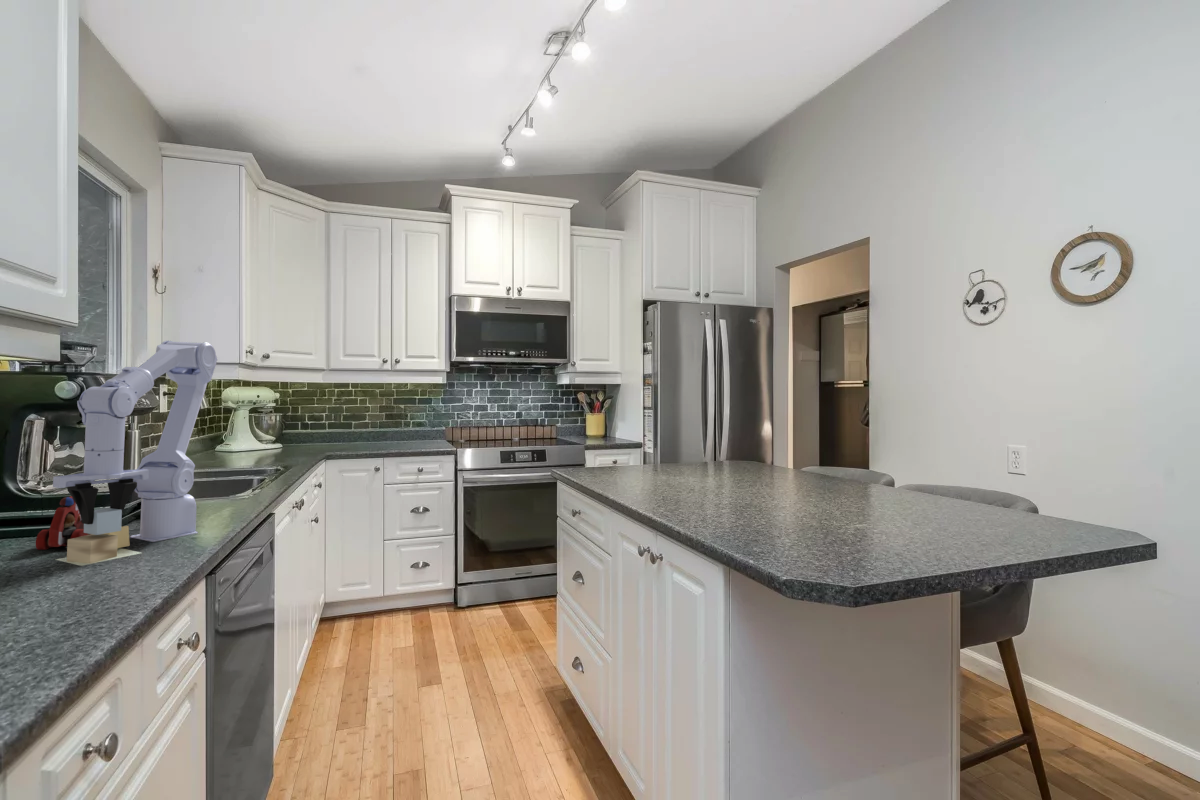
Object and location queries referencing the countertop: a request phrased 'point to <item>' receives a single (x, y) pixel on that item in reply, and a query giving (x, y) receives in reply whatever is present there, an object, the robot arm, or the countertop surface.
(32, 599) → the countertop surface
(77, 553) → the maple block
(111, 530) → the blue block
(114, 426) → the robot arm
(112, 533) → the ochre block
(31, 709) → the countertop surface
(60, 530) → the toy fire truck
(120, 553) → the plate
